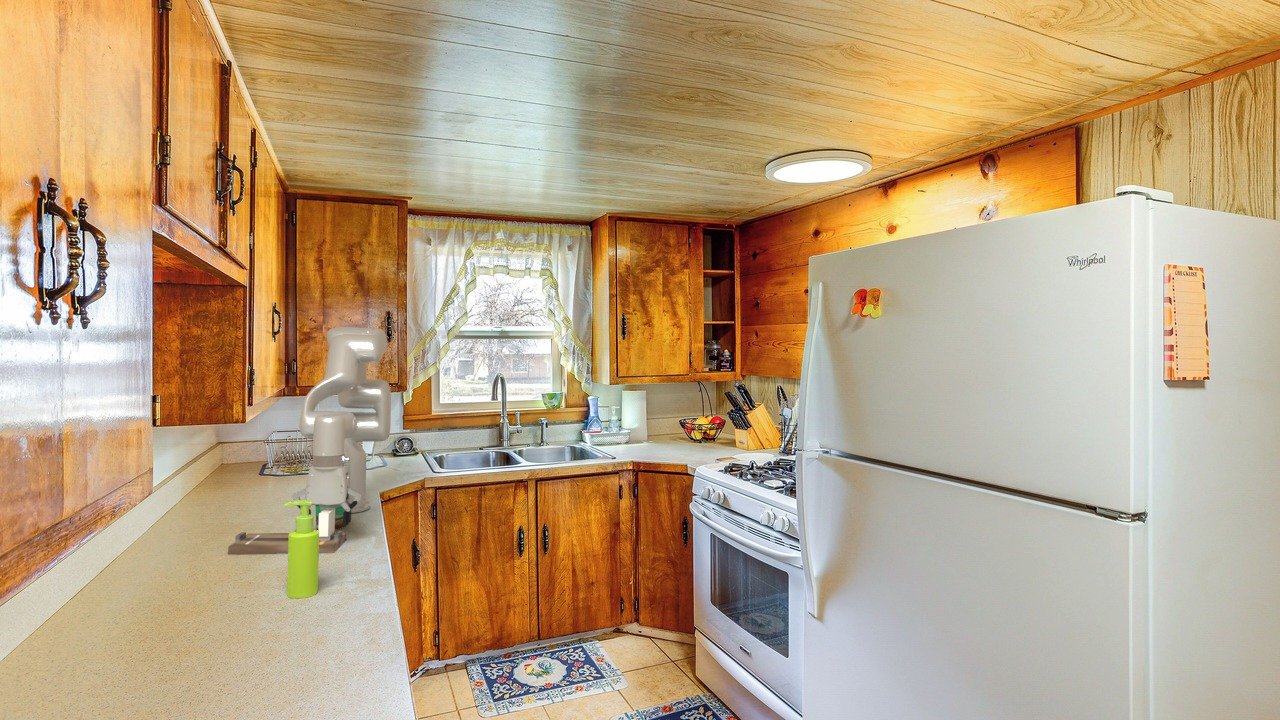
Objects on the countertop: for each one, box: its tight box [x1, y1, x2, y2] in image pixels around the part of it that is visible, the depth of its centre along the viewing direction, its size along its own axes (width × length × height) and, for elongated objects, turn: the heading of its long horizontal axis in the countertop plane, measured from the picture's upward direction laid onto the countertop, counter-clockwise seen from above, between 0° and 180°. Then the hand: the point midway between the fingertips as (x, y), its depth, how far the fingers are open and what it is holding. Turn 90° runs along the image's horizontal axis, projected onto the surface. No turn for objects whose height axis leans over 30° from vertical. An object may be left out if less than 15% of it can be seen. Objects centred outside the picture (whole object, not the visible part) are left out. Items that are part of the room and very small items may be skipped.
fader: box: [318, 508, 336, 541], centre depth 176 cm, size 6×3×7 cm, turn 10°
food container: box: [314, 497, 351, 530], centre depth 195 cm, size 12×6×10 cm, turn 168°
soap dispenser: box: [283, 499, 320, 599], centre depth 143 cm, size 6×7×20 cm
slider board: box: [227, 530, 347, 555], centre depth 175 cm, size 12×25×4 cm, turn 100°
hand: (326, 525), depth 176 cm, fingers open, 9 cm apart
